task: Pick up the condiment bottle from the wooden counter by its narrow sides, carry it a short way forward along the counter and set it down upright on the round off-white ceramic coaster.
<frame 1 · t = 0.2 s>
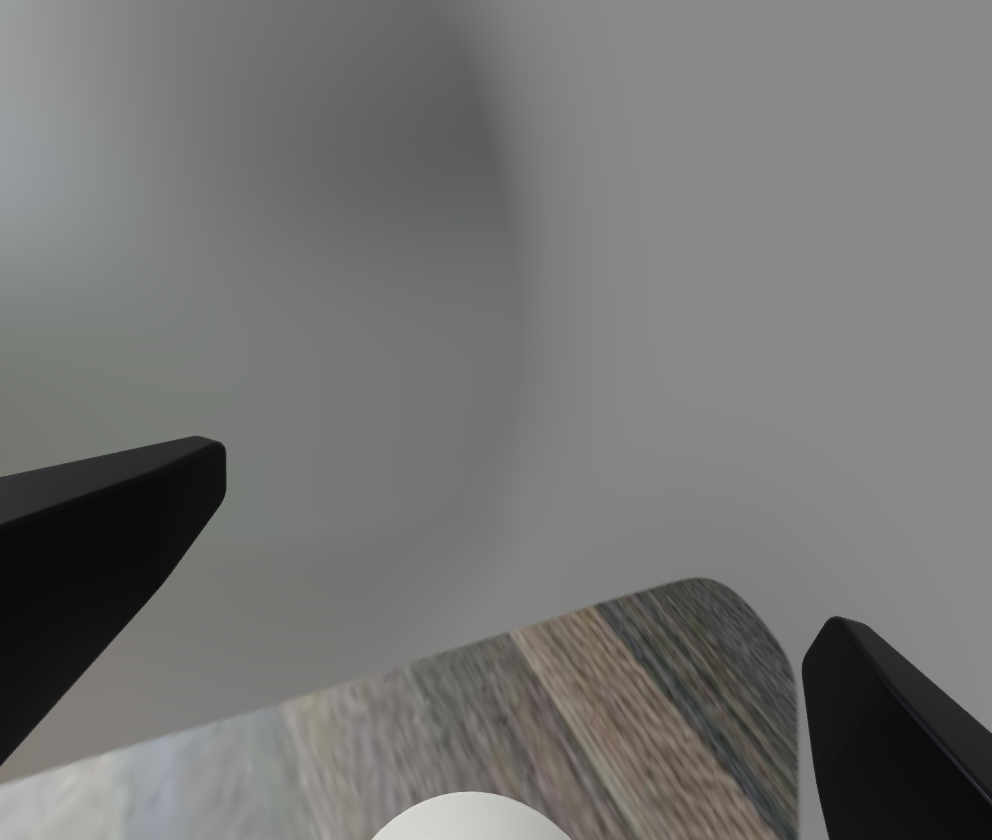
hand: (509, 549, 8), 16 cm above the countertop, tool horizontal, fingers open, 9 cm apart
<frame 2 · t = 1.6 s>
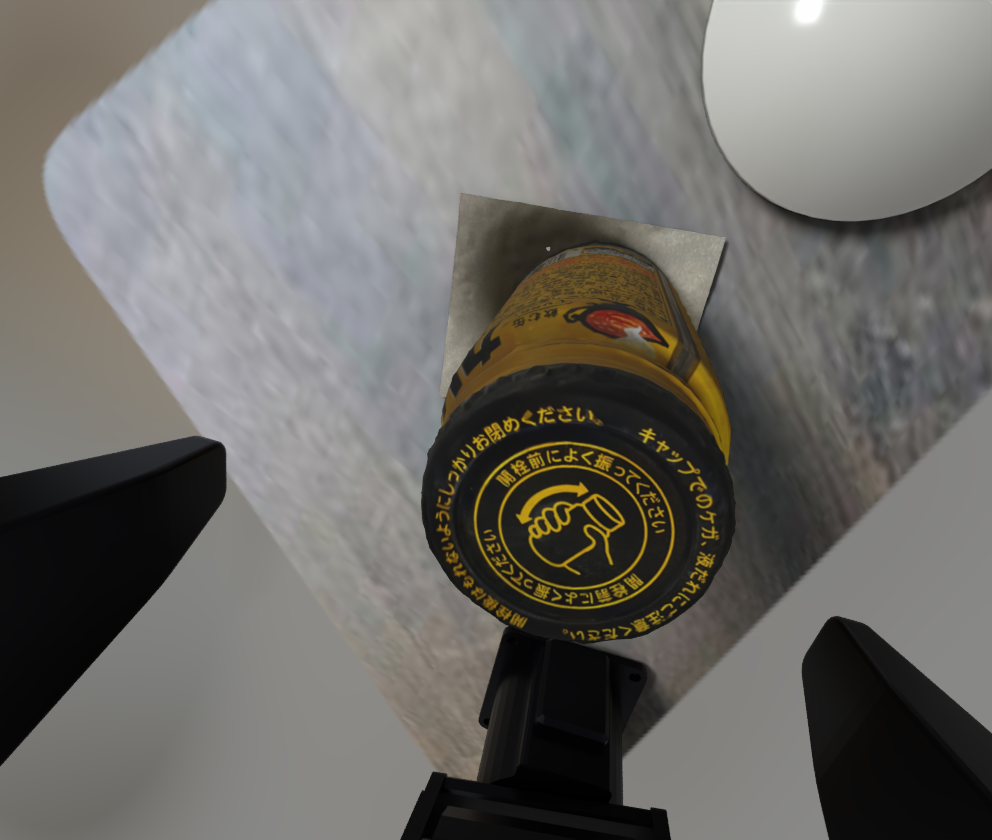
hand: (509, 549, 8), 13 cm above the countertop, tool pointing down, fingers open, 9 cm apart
condiment: (568, 322, 20), on the countertop
coaster: (877, 41, 15), on the countertop
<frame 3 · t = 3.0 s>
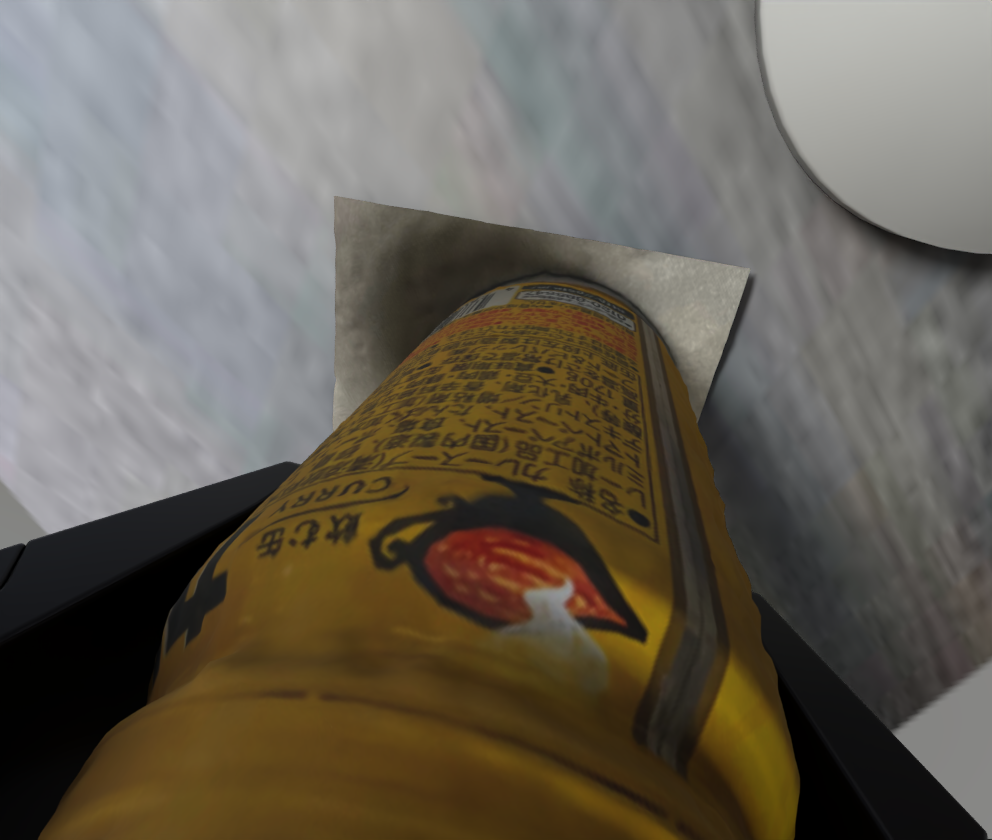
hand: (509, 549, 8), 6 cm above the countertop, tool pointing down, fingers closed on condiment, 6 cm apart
condiment: (511, 388, 14), on the countertop, touching gripper
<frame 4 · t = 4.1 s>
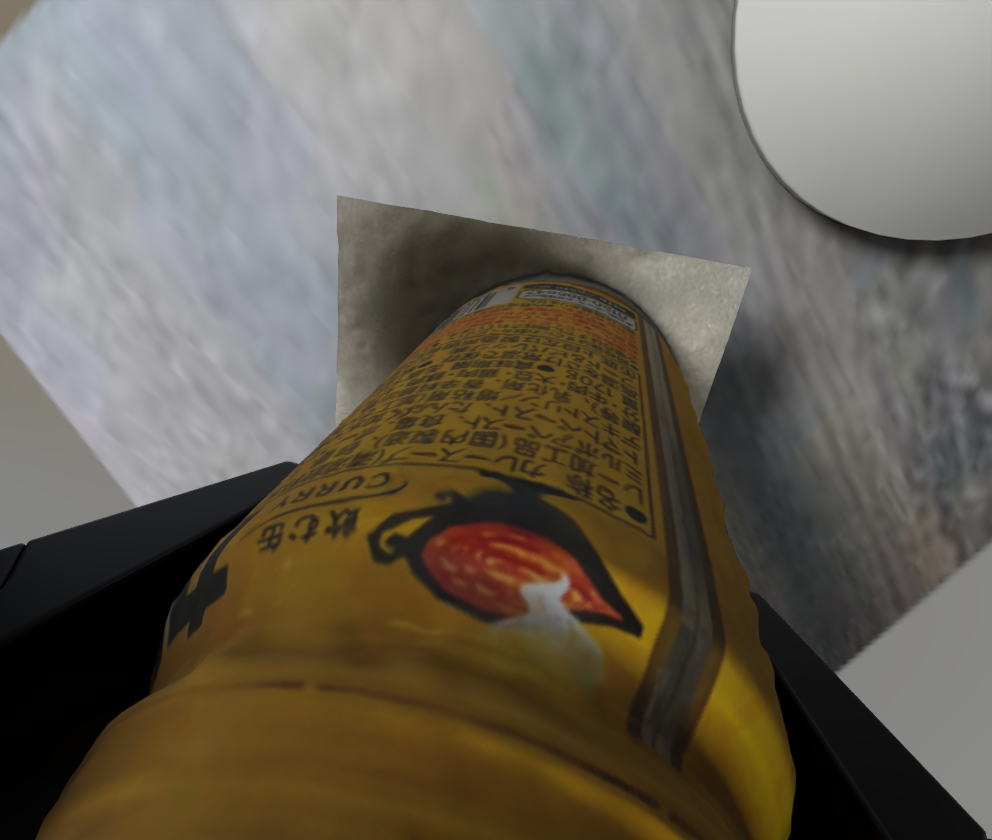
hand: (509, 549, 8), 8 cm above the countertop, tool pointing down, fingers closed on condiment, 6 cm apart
condiment: (513, 387, 14), point 3 cm above the countertop, touching gripper
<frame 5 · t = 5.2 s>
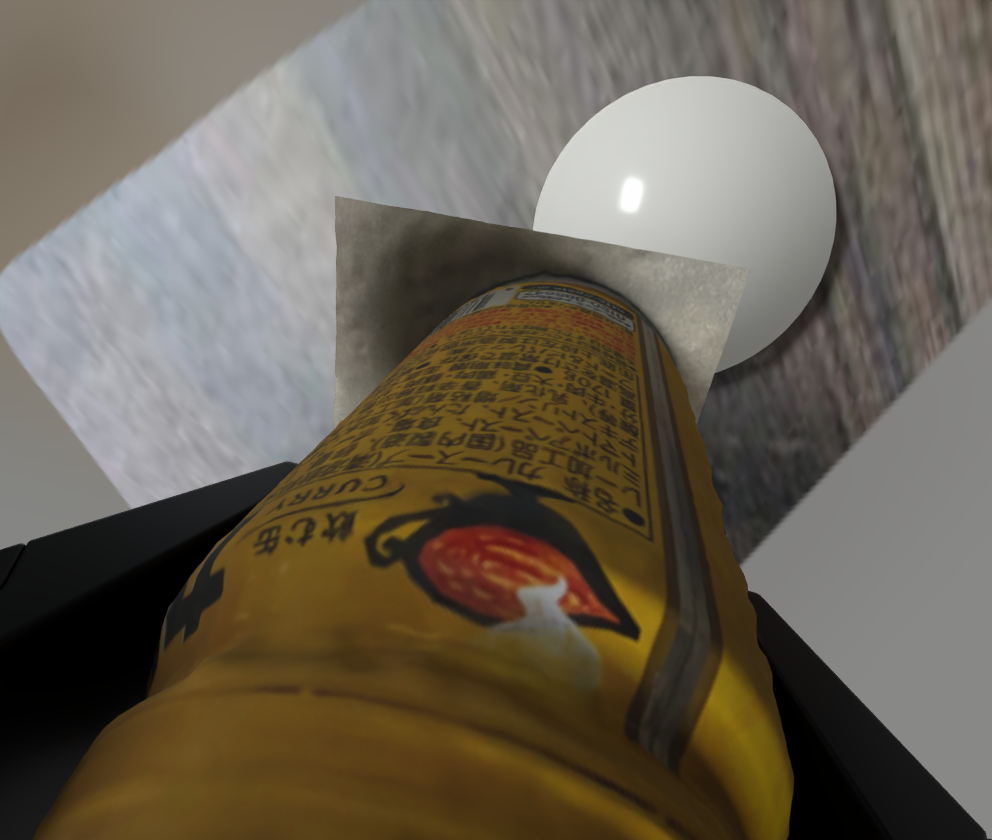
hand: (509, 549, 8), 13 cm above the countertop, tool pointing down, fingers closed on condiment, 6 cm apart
condiment: (511, 388, 14), point 8 cm above the countertop, touching gripper
coaster: (673, 240, 19), on the countertop
when the fingers open (8 cm above the countertop, at t = 7.4 s): condiment drops 1 cm, resting on coaster.
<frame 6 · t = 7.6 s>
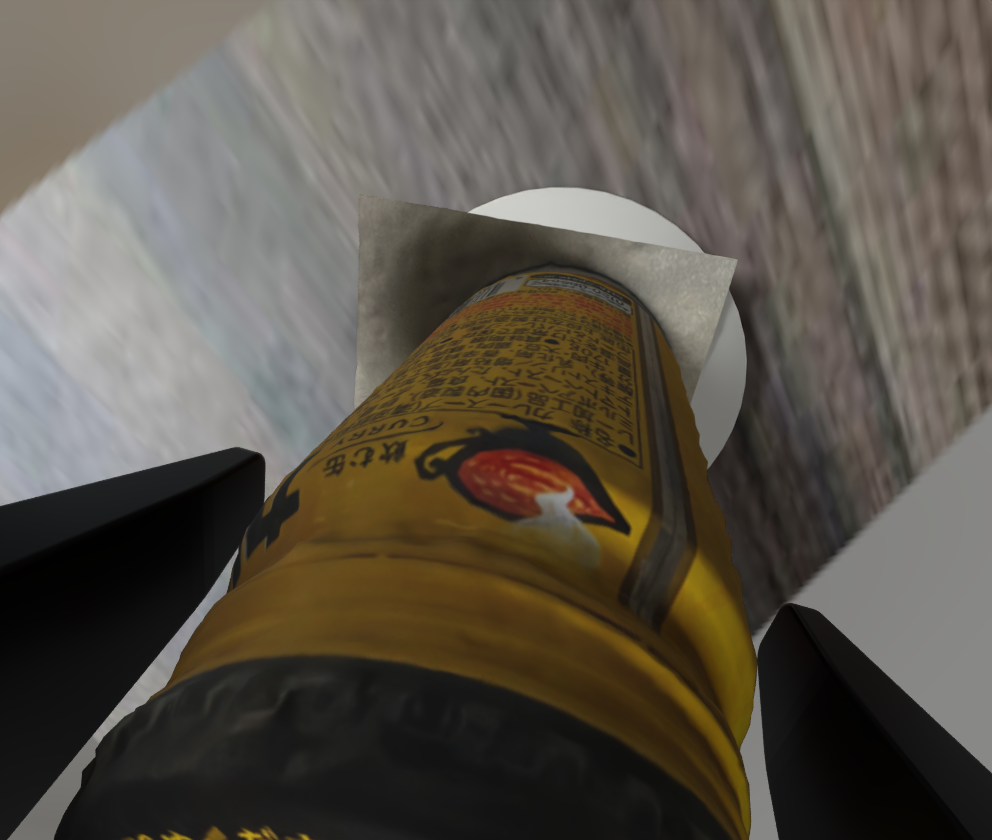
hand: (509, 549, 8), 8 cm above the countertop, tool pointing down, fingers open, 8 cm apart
condiment: (519, 371, 15), point 1 cm above the countertop, touching coaster
coaster: (556, 371, 15), on the countertop
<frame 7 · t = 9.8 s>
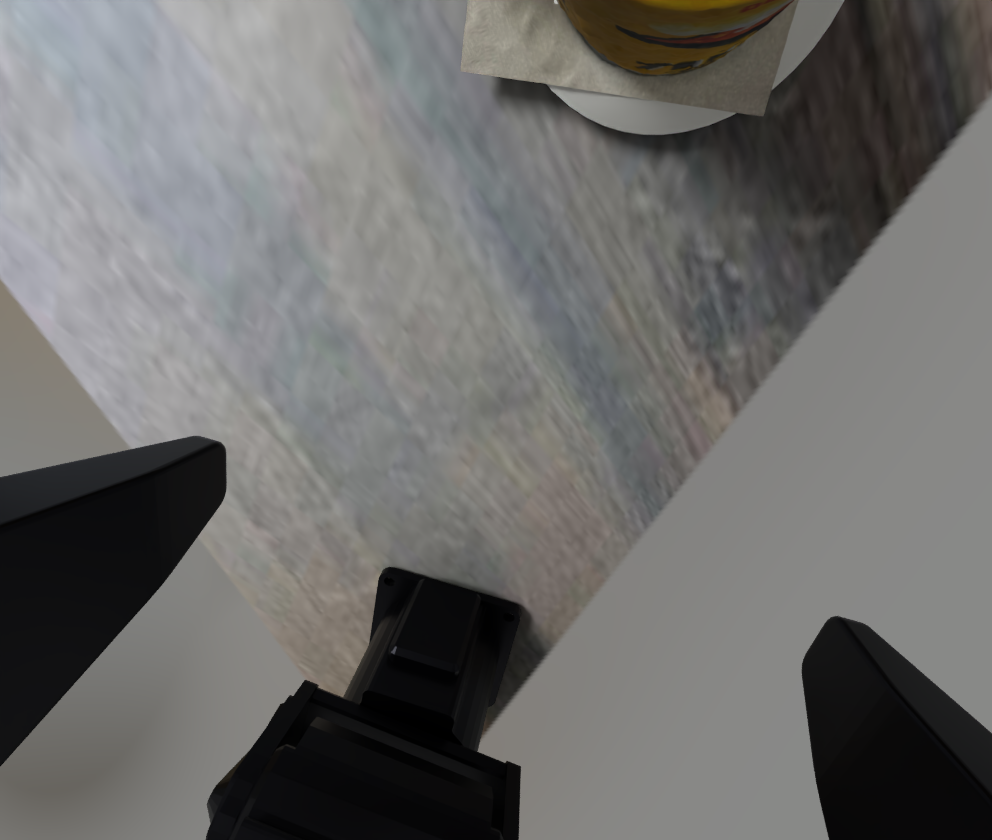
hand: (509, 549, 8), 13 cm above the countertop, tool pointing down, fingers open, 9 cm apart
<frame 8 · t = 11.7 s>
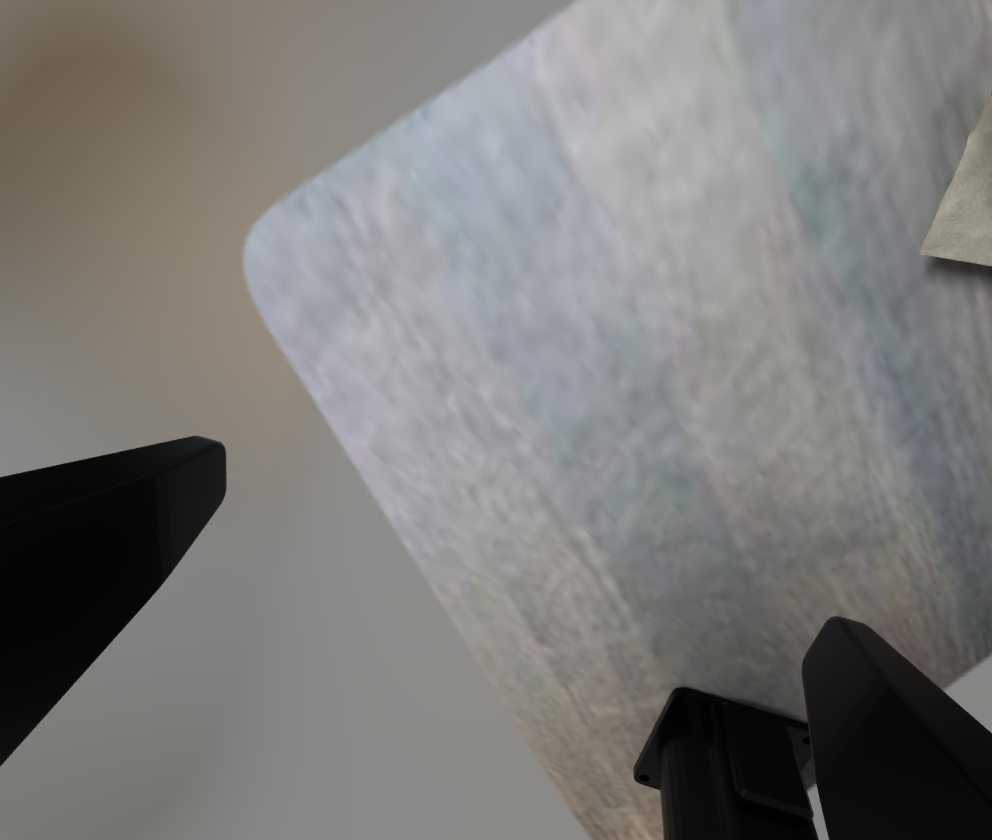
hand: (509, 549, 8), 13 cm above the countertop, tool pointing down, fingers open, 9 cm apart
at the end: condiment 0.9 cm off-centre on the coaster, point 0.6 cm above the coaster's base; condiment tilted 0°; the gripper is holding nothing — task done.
